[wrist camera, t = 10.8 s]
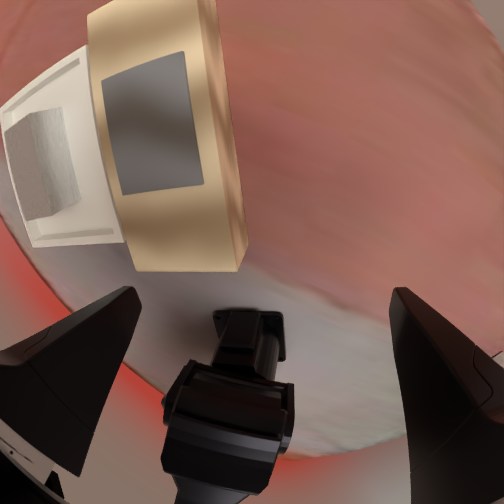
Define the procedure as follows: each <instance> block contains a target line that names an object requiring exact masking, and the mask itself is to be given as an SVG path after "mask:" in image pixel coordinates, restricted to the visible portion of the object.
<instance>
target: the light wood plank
mask: <svg viewBox="0 0 504 504" xmlns="http://www.w3.org/2000/svg"><path fill="white" fill-rule="evenodd" d="M87 24H88V49H89V63H90V74H91V83H92V91H93V99H94V106H95V113H96V119H97V125H98V130H99V136H100V141H101V146H102V151H103V156H104V161H105V165H106V169H107V174H108V178H109V182H110V186H111V190H112V194H113V198H114V201H115V205H116V209H117V212H118V216H119V219H120V222H121V226H122V229H123V232H124V235H125V239H126V242H127V245H128V248H129V251H130V254H131V257H132V260H133V263H134V266H135V268H136V271H164V272H238V269H239V267H240V264H241V262H242V259H243V257H244V254H245V252H246V250H247V247H248V245H249V241H248V234H247V227H246V219H245V212H244V205H243V198H242V191H241V184H240V176H239V169H238V162H237V155H236V148H235V140H234V133H233V126H232V119H231V112H230V104H229V97H228V90H227V82H226V75H225V68H224V61H223V53H222V46H221V39H220V31H219V24H218V17H217V9H216V2H215V0H114V1H112V2H110V3H108V4H106V5H104V6H102V7H101V8H99V9H97V10H95V11H94V12H92V13H90V14H89V15H87Z"/></svg>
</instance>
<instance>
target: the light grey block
mask: <svg viewBox="0 0 504 504" xmlns="http://www.w3.org/2000/svg"><path fill="white" fill-rule="evenodd" d="M4 136H5V142H6V148H7V153H8V158H9V163H10V168H11V172H12V176H13V180H14V184H15V188H16V192H17V195H18V199H19V202H20V205H21V209H22V212H23V215H24V218H25V221H30V220H34V219H39V218H44V217H48V216H53V215H54V214H56V213H58V212H59V211H61V210H63V209H64V208H66V207H68V206H69V205H71V204H73V203H75V202H76V201H78V200H80V199H82V198H81V195H80V191H79V187H78V184H77V180H76V176H75V172H74V167H73V163H72V159H71V154H70V149H69V144H68V139H67V134H66V128H65V122H64V116H63V109H62V107H58V108H52V109H47V110H42V111H37V112H33V113H29V114H28V115H26V116H25V117H23V118H22V119H21V120H19V121H18V122H17V123H15V124H14V125H13V126H12V127H10V128H9V129H8V130H6V131H5V132H4Z"/></svg>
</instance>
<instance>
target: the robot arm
mask: <svg viewBox="0 0 504 504" xmlns="http://www.w3.org/2000/svg"><path fill="white" fill-rule="evenodd" d="M141 309H142V305H141V302H140V299H139V297H138V294H137V292H136V289H135V288H134V287H132V286H123V287H121V288H119V289H118V290H116V291H114V292H112V293H110V294H108V295H106V296H104V297H102V298H100V299H99V300H97V301H95V302H93V303H91V304H89V305H87V306H86V307H84V308H82V309H80V310H78V311H76V312H74V313H73V314H71V315H69V316H67V317H65V318H64V319H62V320H60V321H58V322H56V323H55V324H53V325H52V326H49V327H47V328H45V329H44V330H42V331H40V332H38V333H36V334H34V335H33V336H30V337H29V338H27V339H25V340H23V341H21V342H18V343H16V344H14V345H12V346H11V347H9V348H6V349H4V350H1V351H0V504H69V503H68V502H66V501H65V500H64V495H63V492H62V488H61V485H60V481H59V477H58V474H57V473H56V472H54V471H53V470H52V469H53V467H54V465H55V463H56V464H58V465H59V466H61V467H63V468H64V469H66V470H67V471H69V472H71V473H72V474H74V475H75V476H77V477H80V474H81V472H82V468H83V465H84V462H85V459H86V456H87V453H88V450H89V446H90V444H91V441H92V438H93V435H94V433H93V432H95V429H96V426H97V423H98V421H99V418H100V415H101V412H102V410H103V407H104V405H105V402H106V399H107V397H108V394H109V392H110V389H111V387H112V384H113V382H114V379H115V377H116V375H117V372H118V370H119V367H120V365H121V363H122V360H123V358H124V356H125V353H126V351H127V349H128V347H129V344H130V342H131V339H132V336H133V333H134V330H135V327H136V324H137V321H138V318H139V315H140V313H141ZM218 316H220V317H218ZM277 318H279V319H277ZM389 318H390V326H391V334H392V343H393V352H394V359H395V364H396V369H397V374H398V379H399V384H400V390H401V396H402V402H403V408H404V415H405V422H406V430H407V439H408V449H409V461H410V472H411V473H410V479H411V504H504V368H503V367H502V366H500V365H499V364H498V363H497V362H495V361H494V360H493V359H492V358H491V357H490V356H489V355H487V354H486V353H485V352H484V351H483V350H482V349H481V348H479V347H478V346H477V345H476V346H475V343H474V342H473V341H471V340H470V339H469V338H468V337H467V336H466V335H465V334H463V333H462V332H461V331H460V330H459V329H457V328H456V327H455V326H454V325H453V324H452V323H450V322H449V321H448V320H447V319H446V318H444V317H443V316H442V315H441V314H440V313H438V312H437V311H436V310H435V309H433V308H432V307H431V306H430V305H428V304H427V303H426V302H425V301H423V300H422V299H421V298H420V297H418V296H417V295H416V294H414V293H413V292H412V291H411V290H409V289H408V288H407V287H395V288H394V289H393V292H392V297H391V302H390V307H389ZM213 319H214V323H215V327H216V330H217V334H218V337H219V342H218V344H217V347H216V350H215V352H214V355H213V358H212V361H211V363H210V366H209V365H205V364H202V363H198V362H197V361H195V360H192V359H190V360H189V362H188V363H187V365H186V366H184V368H183V369H182V371H181V372H180V374H179V376H178V377H177V379H176V380H175V382H174V384H173V385H172V387H171V388H170V390H169V392H168V393H167V394H166V395H165V396H164V397H163V399H162V401H161V404H162V406H163V408H164V415H163V423H164V425H165V426H168V430H167V434H166V438H165V443H164V447H163V451H162V454H161V463H162V466H163V470H164V472H166V473H169V474H171V475H172V477H173V479H174V482H175V484H176V486H177V489H178V491H177V495H176V499H175V503H174V504H238V503H240V502H241V501H242V500H244V499H245V498H247V497H248V496H249V495H259V494H260V493H261V492H262V491H263V490H264V489H265V488H266V487H267V486H268V483H269V479H270V477H271V475H272V471H273V468H274V465H275V462H276V459H277V455H278V454H282V455H283V454H284V453H285V452H286V450H287V448H288V446H289V443H290V440H291V437H292V432H293V427H294V418H295V409H294V384H292V383H287V384H286V383H281V382H276V381H274V380H275V374H276V368H277V362H283V361H285V359H286V348H285V333H284V318H283V315H282V314H281V313H278V312H235V311H215V312H214V315H213Z"/></svg>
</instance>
